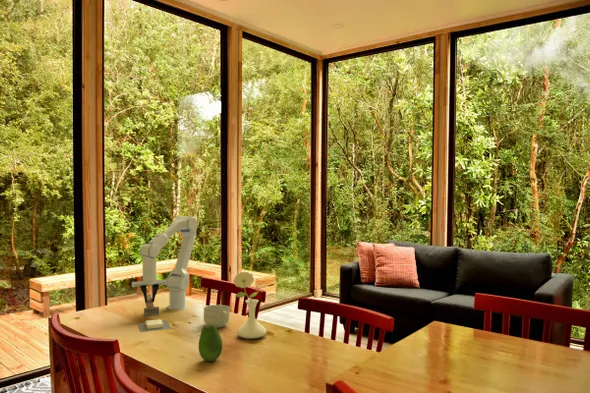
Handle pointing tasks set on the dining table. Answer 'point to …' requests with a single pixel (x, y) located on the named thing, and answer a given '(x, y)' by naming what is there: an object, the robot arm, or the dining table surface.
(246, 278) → the flower in vase
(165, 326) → the mat
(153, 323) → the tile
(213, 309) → the teacup
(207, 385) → the dining table surface
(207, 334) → the fruit
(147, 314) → the hammer
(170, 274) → the robot arm
